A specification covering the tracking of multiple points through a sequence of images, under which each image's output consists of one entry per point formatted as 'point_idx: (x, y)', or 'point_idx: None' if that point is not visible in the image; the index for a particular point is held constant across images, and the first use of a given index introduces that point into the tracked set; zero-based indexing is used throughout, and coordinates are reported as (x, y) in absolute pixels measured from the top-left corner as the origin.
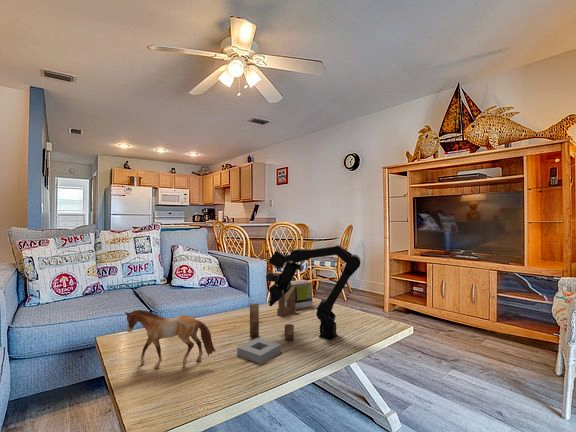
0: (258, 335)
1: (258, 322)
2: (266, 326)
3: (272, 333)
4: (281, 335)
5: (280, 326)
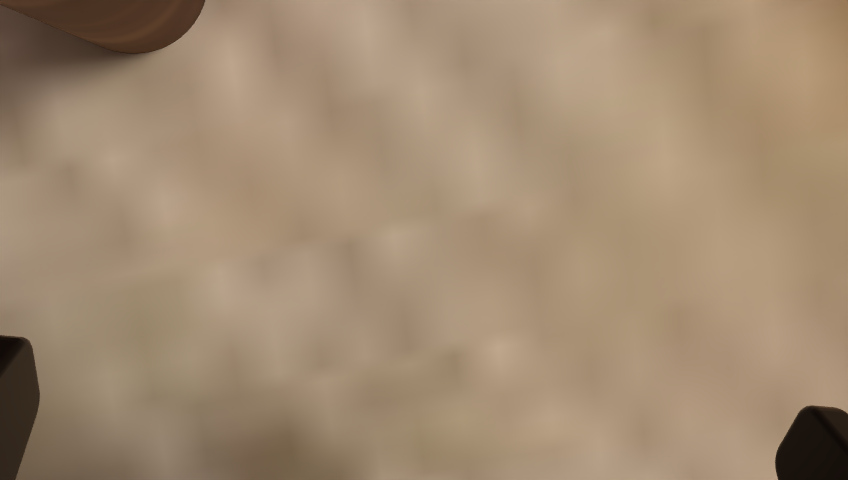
0: (113, 50)
1: (34, 13)
2: (598, 87)
3: (293, 256)
4: (230, 414)
5: (621, 323)
